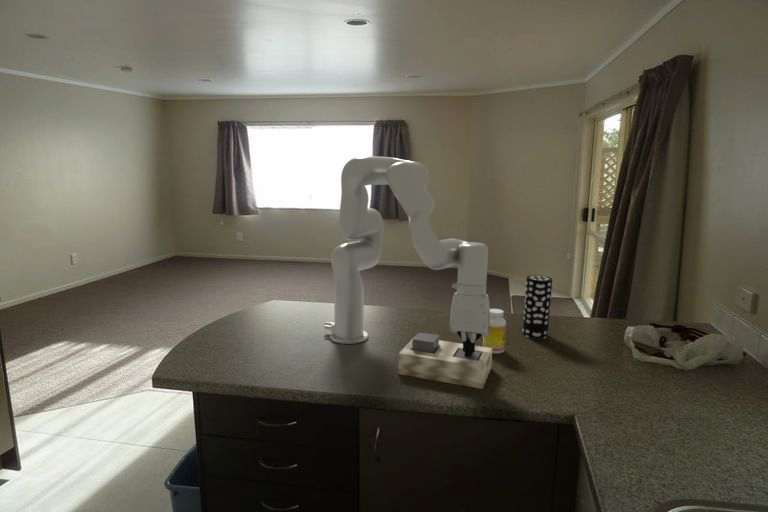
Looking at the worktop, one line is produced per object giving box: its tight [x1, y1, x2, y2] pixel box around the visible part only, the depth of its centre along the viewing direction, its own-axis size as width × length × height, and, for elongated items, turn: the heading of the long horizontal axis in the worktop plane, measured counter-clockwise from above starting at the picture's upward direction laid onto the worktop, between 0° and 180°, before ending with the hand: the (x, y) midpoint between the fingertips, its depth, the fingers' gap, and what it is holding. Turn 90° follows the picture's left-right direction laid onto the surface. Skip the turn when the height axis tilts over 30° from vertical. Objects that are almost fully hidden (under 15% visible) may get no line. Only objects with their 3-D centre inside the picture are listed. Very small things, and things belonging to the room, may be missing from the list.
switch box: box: [397, 339, 493, 390], centre depth 133 cm, size 23×14×6 cm, turn 69°
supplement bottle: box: [482, 308, 507, 355], centre depth 148 cm, size 7×7×13 cm
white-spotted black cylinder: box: [522, 274, 553, 340], centre depth 162 cm, size 8×8×20 cm
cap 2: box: [455, 349, 481, 361], centre depth 131 cm, size 6×6×4 cm
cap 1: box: [411, 332, 440, 354], centre depth 134 cm, size 6×6×4 cm
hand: (468, 354), depth 130 cm, fingers closed
